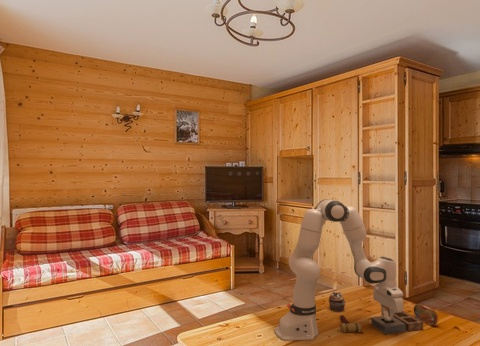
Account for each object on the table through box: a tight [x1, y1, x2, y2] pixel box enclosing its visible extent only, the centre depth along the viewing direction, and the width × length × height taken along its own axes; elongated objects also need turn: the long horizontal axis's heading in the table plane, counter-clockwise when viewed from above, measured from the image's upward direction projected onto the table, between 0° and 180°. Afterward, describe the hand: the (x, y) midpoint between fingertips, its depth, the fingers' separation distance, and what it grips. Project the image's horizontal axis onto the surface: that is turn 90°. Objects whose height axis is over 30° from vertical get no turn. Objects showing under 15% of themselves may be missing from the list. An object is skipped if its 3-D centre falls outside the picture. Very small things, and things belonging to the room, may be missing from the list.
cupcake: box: [328, 291, 346, 313], centre depth 207 cm, size 10×10×10 cm
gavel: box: [339, 314, 363, 334], centre depth 186 cm, size 21×5×10 cm
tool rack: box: [381, 308, 424, 333], centre depth 188 cm, size 9×22×4 cm, turn 13°
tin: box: [413, 303, 439, 326], centre depth 188 cm, size 15×3×8 cm, turn 13°
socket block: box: [370, 315, 407, 335], centre depth 181 cm, size 12×12×4 cm
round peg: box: [383, 306, 392, 323], centre depth 181 cm, size 4×4×11 cm
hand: (387, 314), depth 181 cm, fingers closed on round peg, 4 cm apart
